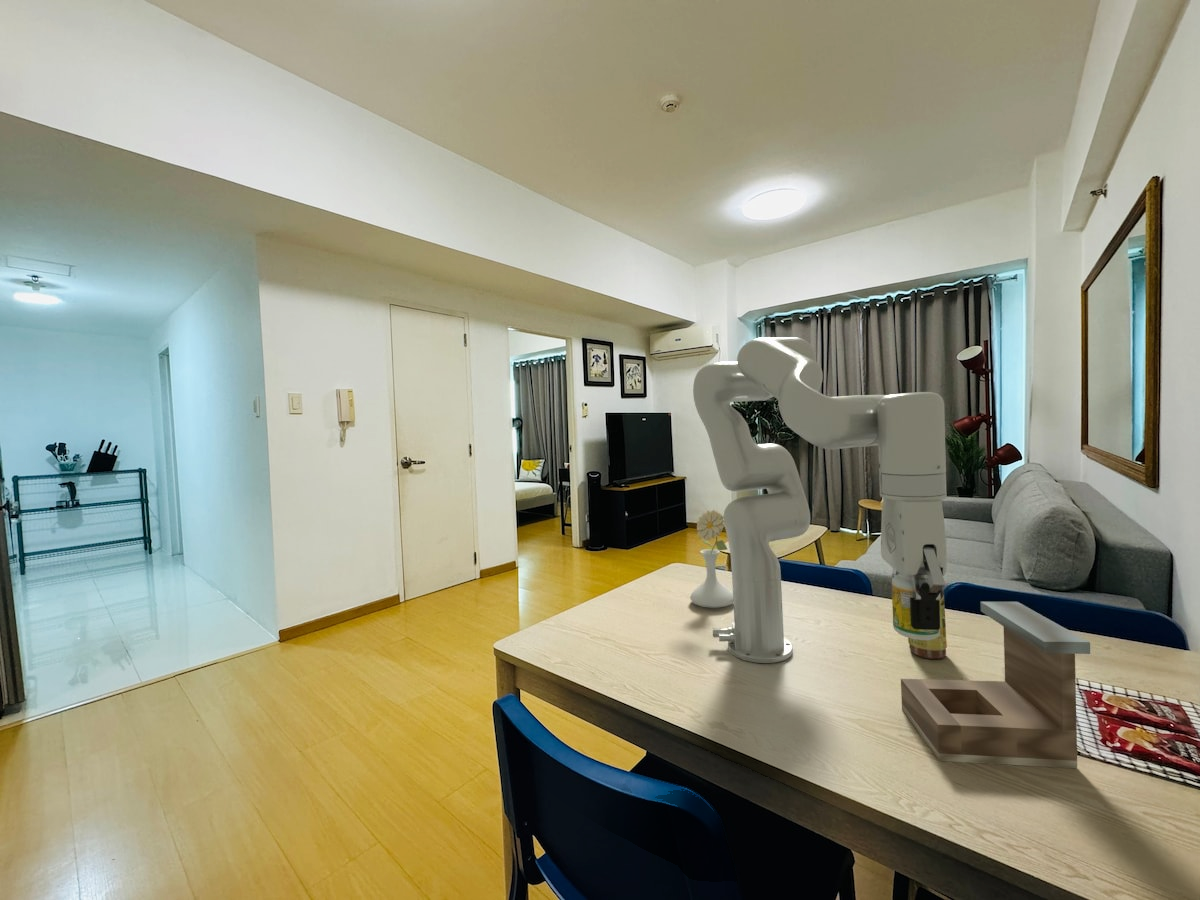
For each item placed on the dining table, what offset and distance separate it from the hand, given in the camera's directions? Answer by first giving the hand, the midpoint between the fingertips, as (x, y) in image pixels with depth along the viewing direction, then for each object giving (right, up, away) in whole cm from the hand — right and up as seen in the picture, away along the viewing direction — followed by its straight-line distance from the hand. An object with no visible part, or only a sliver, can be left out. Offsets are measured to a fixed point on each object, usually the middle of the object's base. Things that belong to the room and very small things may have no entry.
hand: (915, 617), depth 67 cm
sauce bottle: (+21, -17, +29) cm, 39 cm away
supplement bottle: (0, -2, 0) cm, 2 cm away
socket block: (+12, -18, +4) cm, 22 cm away
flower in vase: (-13, -17, +61) cm, 64 cm away
